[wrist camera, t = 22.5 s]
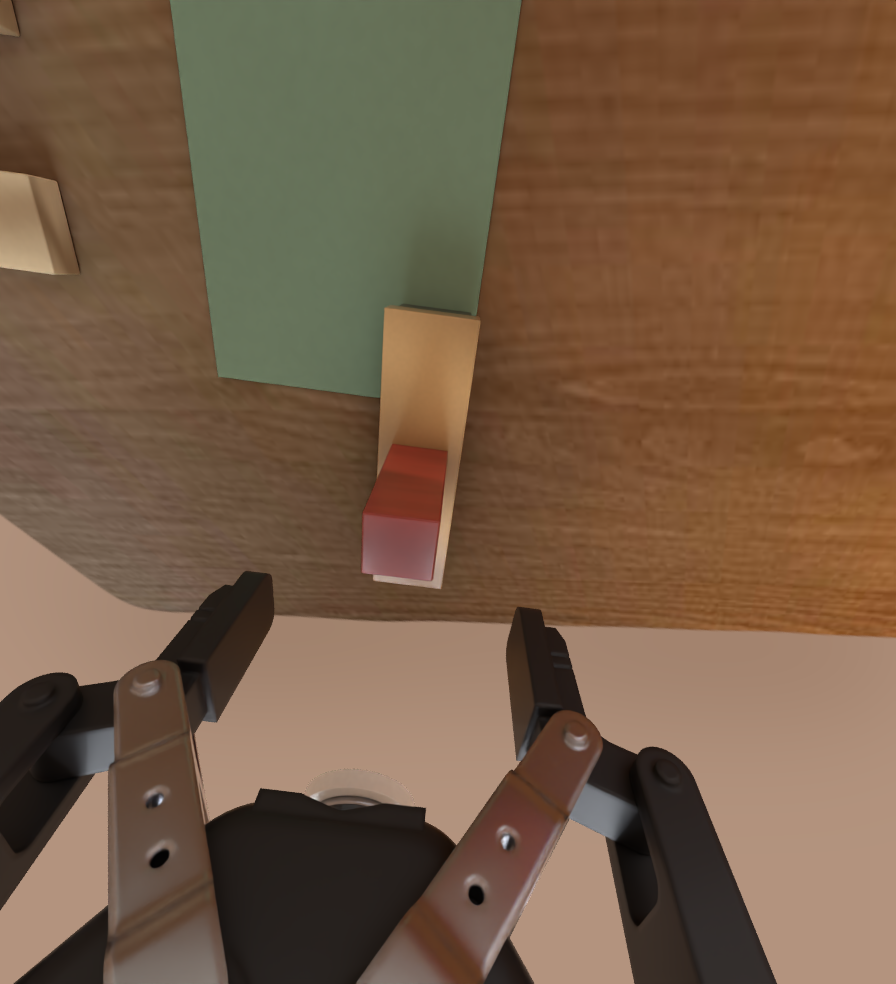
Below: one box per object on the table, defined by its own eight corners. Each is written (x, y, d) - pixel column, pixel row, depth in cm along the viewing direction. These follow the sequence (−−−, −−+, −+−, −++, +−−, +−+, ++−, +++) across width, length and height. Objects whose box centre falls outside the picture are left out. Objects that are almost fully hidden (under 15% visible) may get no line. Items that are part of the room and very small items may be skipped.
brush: (443, 560, 29) (433, 686, 20) (381, 552, 29) (343, 676, 20) (479, 313, 22) (486, 346, 13) (394, 302, 22) (343, 327, 13)
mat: (463, 408, 24) (462, 409, 24) (219, 375, 24) (217, 376, 24) (529, -52, 16) (529, -55, 16) (158, -110, 16) (154, -114, 16)
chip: (81, 275, 22) (54, 274, 20) (3, 264, 22) (-30, 263, 20) (57, 181, 20) (26, 173, 19) (-28, 168, 20) (-65, 160, 19)
